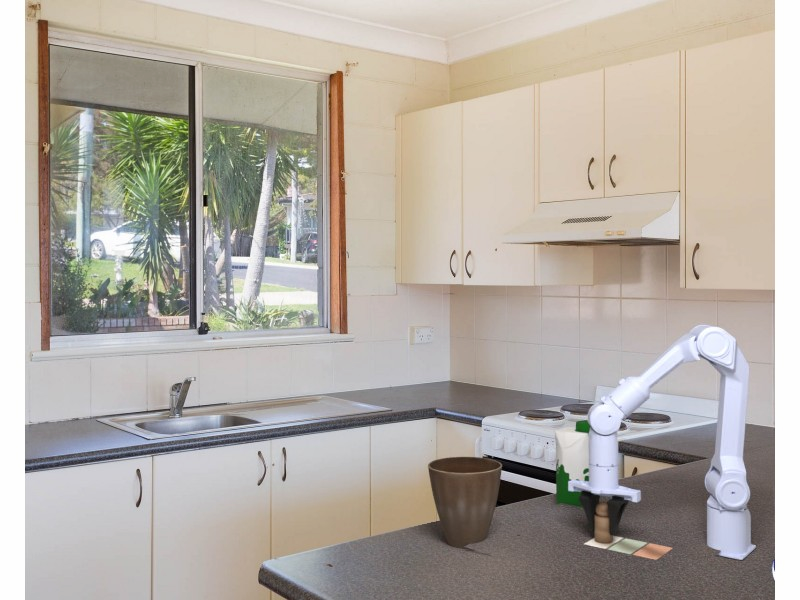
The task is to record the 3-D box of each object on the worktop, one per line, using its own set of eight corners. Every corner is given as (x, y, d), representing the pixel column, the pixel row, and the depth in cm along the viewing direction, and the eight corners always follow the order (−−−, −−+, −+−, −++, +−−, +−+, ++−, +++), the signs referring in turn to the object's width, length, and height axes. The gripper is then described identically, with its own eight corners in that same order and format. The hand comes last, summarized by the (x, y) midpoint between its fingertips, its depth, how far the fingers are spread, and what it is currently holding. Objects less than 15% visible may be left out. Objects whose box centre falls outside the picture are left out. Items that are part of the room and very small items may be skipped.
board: (602, 537, 162) (602, 532, 162) (675, 552, 153) (675, 547, 153) (580, 550, 155) (580, 544, 155) (655, 567, 145) (655, 560, 145)
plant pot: (472, 560, 149) (471, 476, 149) (413, 544, 160) (412, 465, 159) (517, 541, 160) (516, 463, 160) (459, 527, 170) (459, 453, 170)
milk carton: (587, 512, 181) (587, 425, 181) (550, 506, 186) (550, 422, 186) (601, 504, 188) (601, 420, 188) (566, 498, 193) (565, 417, 193)
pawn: (599, 536, 160) (599, 498, 159) (616, 540, 157) (616, 501, 157) (591, 541, 157) (591, 502, 157) (608, 544, 154) (608, 505, 154)
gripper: (560, 462, 158) (561, 530, 158) (630, 472, 149) (630, 544, 149) (577, 456, 164) (577, 521, 164) (645, 466, 155) (645, 535, 155)
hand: (603, 532), depth 157 cm, fingers closed on pawn, 4 cm apart
